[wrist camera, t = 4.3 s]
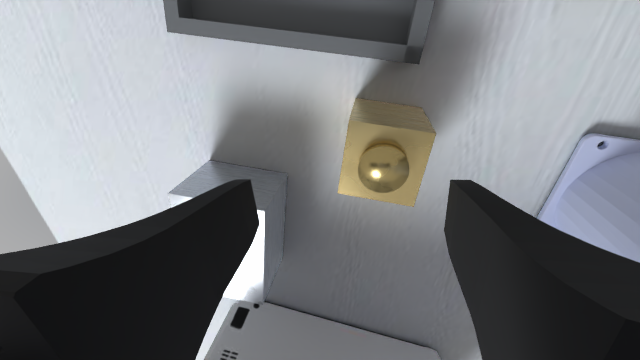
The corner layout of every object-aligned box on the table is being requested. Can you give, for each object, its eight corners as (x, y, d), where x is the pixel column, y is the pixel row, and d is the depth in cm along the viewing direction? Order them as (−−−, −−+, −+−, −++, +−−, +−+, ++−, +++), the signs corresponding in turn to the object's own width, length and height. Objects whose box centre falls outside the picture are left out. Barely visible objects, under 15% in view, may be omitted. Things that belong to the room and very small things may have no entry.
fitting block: (421, 107, 18) (438, 138, 13) (405, 166, 20) (415, 213, 15) (355, 97, 18) (348, 123, 13) (346, 156, 20) (336, 199, 15)
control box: (287, 173, 21) (260, 217, 16) (282, 256, 25) (259, 312, 20) (207, 159, 22) (158, 197, 17) (214, 242, 26) (176, 293, 21)
